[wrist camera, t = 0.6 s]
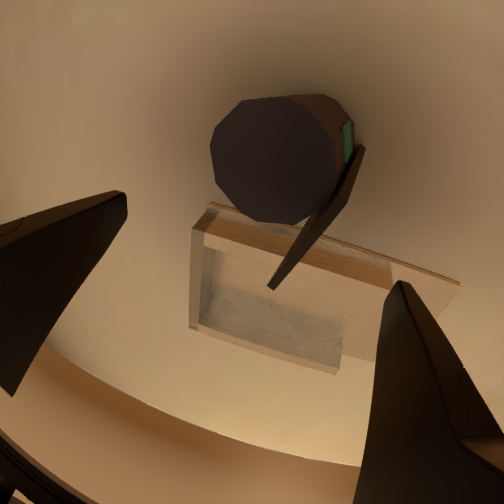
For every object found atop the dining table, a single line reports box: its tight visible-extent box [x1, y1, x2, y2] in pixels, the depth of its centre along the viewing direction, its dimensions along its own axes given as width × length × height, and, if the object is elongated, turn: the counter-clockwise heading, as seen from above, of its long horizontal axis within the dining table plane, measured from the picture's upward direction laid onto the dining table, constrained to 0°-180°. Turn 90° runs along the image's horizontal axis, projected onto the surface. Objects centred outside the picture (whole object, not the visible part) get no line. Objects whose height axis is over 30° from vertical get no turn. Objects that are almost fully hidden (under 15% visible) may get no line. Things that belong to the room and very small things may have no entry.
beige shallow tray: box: [189, 202, 461, 375], centre depth 25 cm, size 22×13×4 cm, turn 80°
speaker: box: [210, 94, 366, 291], centre depth 15 cm, size 8×6×10 cm
